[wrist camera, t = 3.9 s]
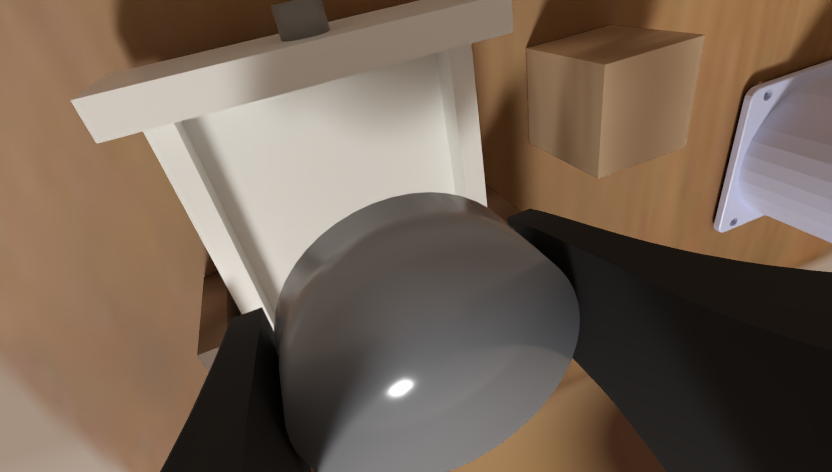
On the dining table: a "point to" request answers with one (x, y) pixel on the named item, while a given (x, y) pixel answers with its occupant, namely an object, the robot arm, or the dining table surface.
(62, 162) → the dining table surface
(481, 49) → the dining table surface
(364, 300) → the grey dome
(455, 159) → the white drawer
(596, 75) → the wooden block
